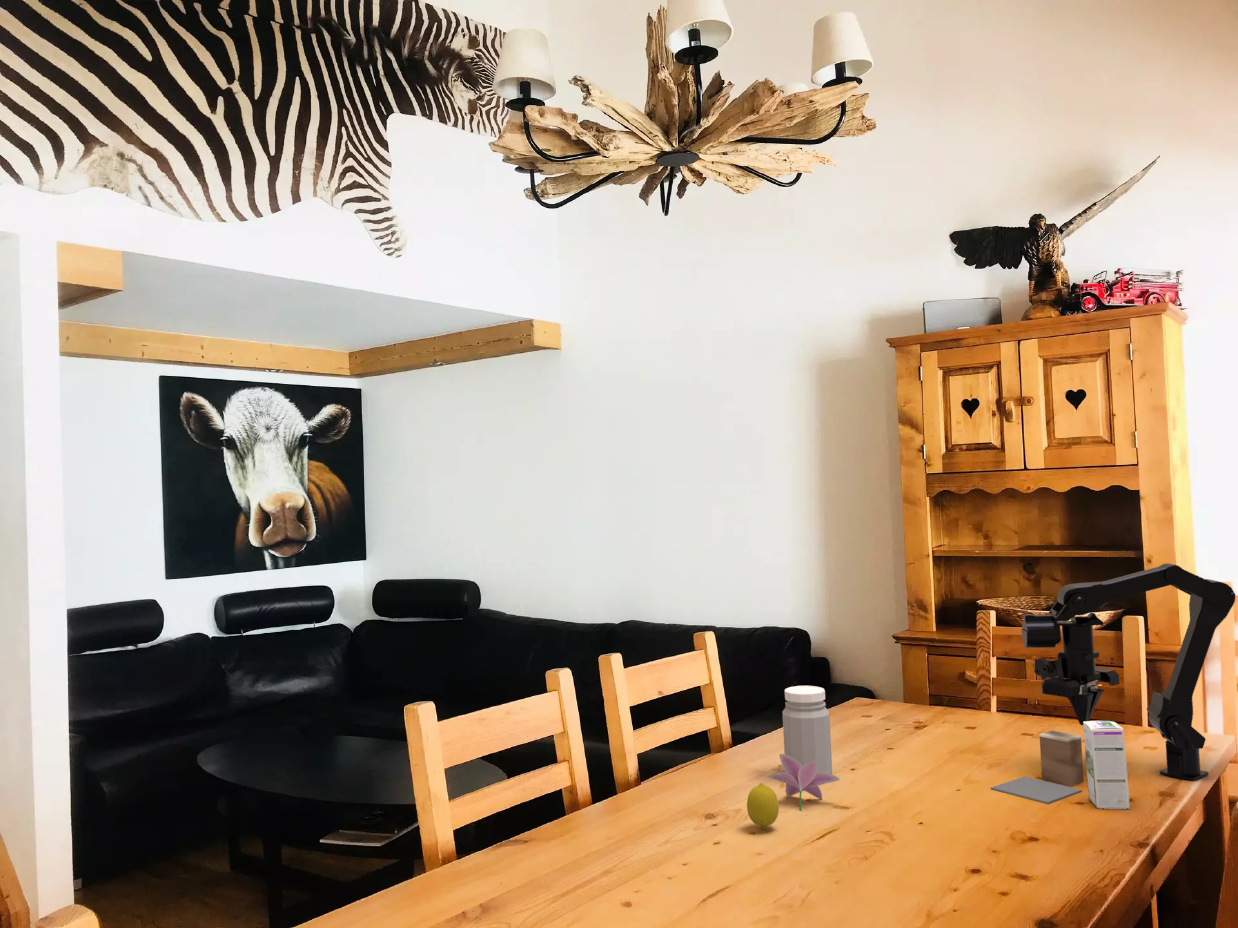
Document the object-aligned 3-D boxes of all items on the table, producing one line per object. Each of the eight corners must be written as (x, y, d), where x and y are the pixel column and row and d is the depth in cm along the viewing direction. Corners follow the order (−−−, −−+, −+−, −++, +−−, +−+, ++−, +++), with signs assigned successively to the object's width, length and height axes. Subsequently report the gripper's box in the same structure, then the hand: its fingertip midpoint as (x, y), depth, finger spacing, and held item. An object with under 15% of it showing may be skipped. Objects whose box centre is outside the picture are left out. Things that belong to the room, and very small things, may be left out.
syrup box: (1131, 809, 172) (1126, 727, 172) (1095, 808, 173) (1090, 727, 173) (1121, 799, 177) (1116, 720, 178) (1086, 798, 178) (1082, 720, 179)
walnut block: (1055, 775, 193) (1052, 730, 194) (1083, 782, 188) (1081, 735, 189) (1042, 779, 191) (1039, 734, 191) (1070, 786, 186) (1067, 739, 186)
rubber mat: (1024, 777, 193) (1024, 776, 193) (1081, 791, 183) (1081, 789, 183) (990, 788, 187) (990, 787, 187) (1048, 803, 177) (1048, 802, 177)
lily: (848, 813, 179) (844, 760, 184) (810, 801, 173) (806, 747, 178) (797, 821, 187) (794, 770, 192) (758, 810, 180) (756, 758, 185)
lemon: (782, 824, 171) (779, 779, 172) (776, 835, 166) (774, 788, 167) (751, 822, 173) (749, 777, 174) (745, 833, 168) (743, 786, 168)
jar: (780, 781, 197) (776, 693, 197) (790, 768, 206) (786, 683, 206) (828, 785, 193) (823, 695, 194) (836, 771, 202) (832, 685, 203)
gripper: (1067, 637, 207) (1071, 711, 206) (1015, 648, 196) (1019, 726, 196) (1118, 643, 198) (1123, 719, 197) (1066, 654, 187) (1071, 735, 187)
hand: (1083, 724), depth 194 cm, fingers closed
